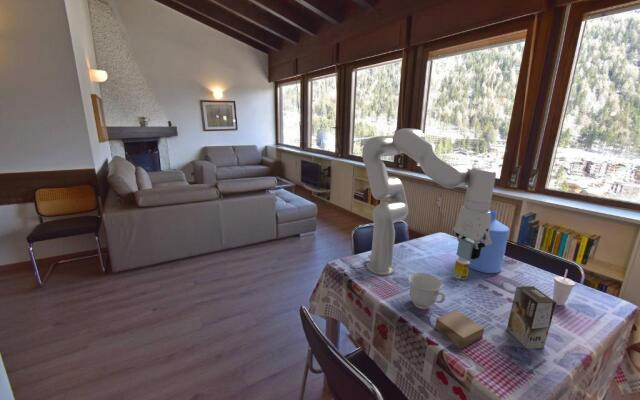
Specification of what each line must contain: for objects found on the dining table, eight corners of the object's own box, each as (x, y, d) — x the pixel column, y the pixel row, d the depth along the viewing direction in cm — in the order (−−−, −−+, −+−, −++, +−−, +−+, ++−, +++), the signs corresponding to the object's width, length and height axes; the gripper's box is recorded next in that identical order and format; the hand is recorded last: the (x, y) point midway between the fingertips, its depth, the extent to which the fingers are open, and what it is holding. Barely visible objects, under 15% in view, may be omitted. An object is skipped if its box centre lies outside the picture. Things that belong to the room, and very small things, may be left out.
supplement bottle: (462, 281, 126) (466, 259, 124) (450, 275, 131) (454, 254, 128) (469, 278, 129) (473, 257, 127) (457, 272, 134) (461, 252, 131)
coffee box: (545, 348, 89) (558, 303, 85) (526, 349, 89) (538, 303, 85) (522, 328, 98) (533, 285, 94) (505, 328, 98) (515, 286, 93)
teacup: (428, 323, 98) (432, 297, 96) (398, 299, 111) (400, 276, 109) (452, 314, 104) (457, 289, 101) (421, 292, 117) (424, 270, 114)
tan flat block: (434, 328, 97) (436, 318, 96) (454, 320, 101) (456, 310, 100) (461, 349, 88) (463, 338, 87) (481, 338, 93) (484, 328, 92)
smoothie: (564, 300, 115) (574, 268, 112) (572, 309, 110) (582, 276, 106) (545, 296, 117) (554, 264, 114) (551, 305, 112) (561, 272, 108)
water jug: (501, 264, 143) (513, 210, 136) (500, 277, 131) (513, 218, 123) (466, 255, 151) (476, 204, 144) (462, 267, 138) (472, 211, 131)
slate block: (456, 254, 104) (459, 239, 102) (466, 252, 106) (469, 237, 104) (468, 261, 99) (471, 244, 98) (478, 258, 101) (481, 242, 100)
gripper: (448, 199, 104) (441, 246, 108) (493, 213, 89) (482, 267, 93) (463, 198, 107) (455, 244, 111) (509, 211, 92) (497, 264, 96)
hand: (467, 254), depth 102 cm, fingers closed on slate block, 5 cm apart
